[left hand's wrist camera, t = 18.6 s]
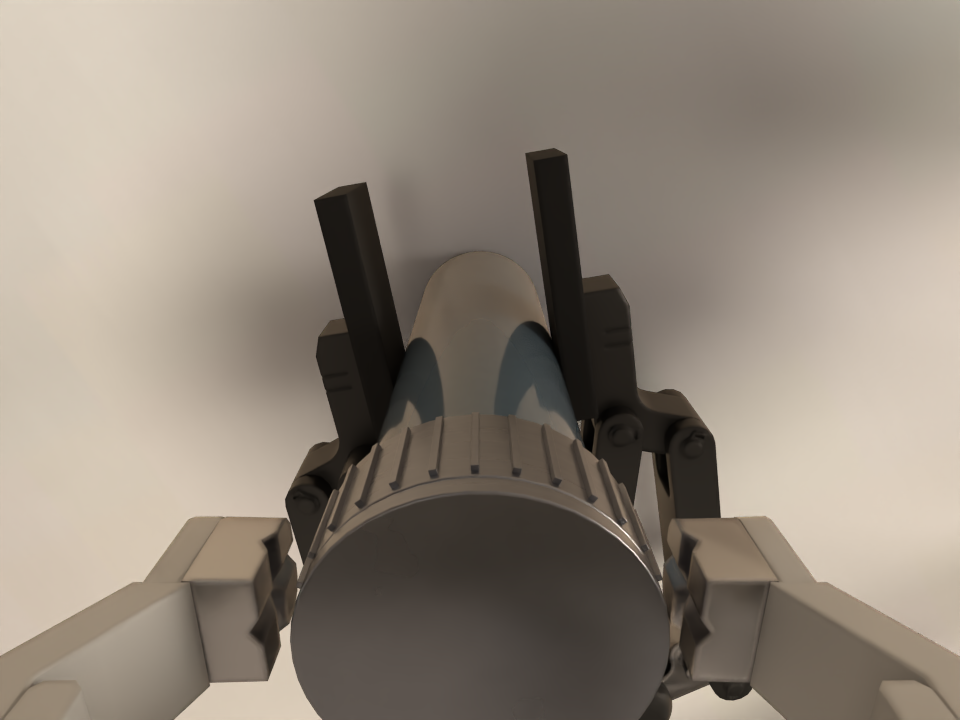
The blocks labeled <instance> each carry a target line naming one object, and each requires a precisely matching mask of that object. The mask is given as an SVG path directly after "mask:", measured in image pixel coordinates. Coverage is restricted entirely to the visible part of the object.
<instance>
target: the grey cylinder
mask: <svg viewBox="0 0 960 720" xmlns="http://www.w3.org/2000/svg"><path fill="white" fill-rule="evenodd" d="M472 412H479V414H481V415H500V416H509V414H510V415H516V418H519V419H523V420H527V421H531V422H535V423H538V424H540V425H543V424H544V423H545V424H548V425H550V426H551V429H553V430H556V431H558V432H559V433H561V434H563V435H565V436H567V437H569V438H570V439H572V440H575V438H576V439H578V440H580V441H581V443H582V446H583V447H584V448H585V446H584V442H583V439H582V436H581V433H580V430H579V426H578V423H577V420H576V417H575V414H574V410H573V407H572V404H571V401H570V397H569V394H568V391H567V388H566V385H565V381H564V378H563V375H562V372H561V369H560V365H559V362H558V359H557V356H556V353H555V349H554V346H553V343H552V340H551V337H550V333H549V330H548V327H547V324H546V321H545V317H544V314H543V311H542V308H541V305H540V301H539V298H538V295H537V292H536V289H535V286H534V284H533V282H532V280H531V279H530V277H529V276H528V274H527V273H526V272H525V271H524V269H522V268H521V267H520V266H519V265H518V264H517V263H515V262H514V261H513V260H511V259H509V258H507V257H505V256H503V255H500V254H497V253H493V252H486V251H474V252H468V253H464V254H461V255H458V256H456V257H453V258H451V259H450V260H448V261H447V262H445V263H444V264H443V265H441V266H440V267H439V268H438V269H437V270H436V271H435V272H434V274H433V275H432V277H431V278H430V280H429V282H428V284H427V285H426V288H425V291H424V294H423V297H422V300H421V304H420V307H419V310H418V313H417V316H416V319H415V323H414V326H413V329H412V332H411V335H410V339H409V342H408V345H407V348H406V351H405V355H404V358H403V361H402V364H401V367H400V371H399V374H398V377H397V380H396V383H395V387H394V390H393V393H392V396H391V399H390V403H389V406H388V409H387V412H386V415H385V419H384V422H383V425H382V428H381V431H380V435H379V438H378V441H377V443H378V444H379V445H381V444H382V443H384V442H385V441H387V440H388V439H390V438H392V437H394V436H396V435H397V434H399V433H401V431H402V429H403V428H405V427H409V429H410V428H412V427H415V426H418V425H421V424H423V423H426V422H429V421H433V420H436V417H440V416H443V418H446V417H452V416H461V415H470V414H472Z"/></svg>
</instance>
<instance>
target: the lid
mask: <svg viewBox="0 0 960 720" xmlns="http://www.w3.org/2000/svg"><path fill="white" fill-rule="evenodd" d="M660 580H662V576H661V573H660V570H659V568H658V565H657V563H656V560H655V557H654V555H653V552H652V550H651V547H650V545H649V542H648V540H647V537H646V534H645V532H644V529H643V527H642V524H641V522H640V519H639V517H638V514H637V511H636V510H634V508H633V505H632V503H631V500H630V498H629V495H628V493H627V490H626V487H625V486H624V484H623V483H620V484H618V483H617V481H616V480H615V479H614V477H613V476H612V475H611V474H610V471H609V468H608V465H607V463H606V461H605V460H604V459H601V460H598V459H597V458H596V457H595V456H594V455H593V454H592V453H591V452H589V451H588V450H586V449H585V448H584V447H583V446H582V443H581V441H580V440H578V439H576V438H575V440H572V439H570V438H569V437H567V436H565V435H563V434H561V433H559V432H558V431H556V430H553V429H551V426H550V425H548V424H545V423H544V424H543V425H540V424H538V423H535V422H531V421H527V420H523V419H519V418H516V415H510V414H509V416H500V415H481V414H479V412H472V414H470V415H461V416H452V417H446V418H443V416H440V417H436V420H433V421H429V422H426V423H423V424H421V425H418V426H415V427H412V428H410V429H409V427H405V428H403V429H402V431H401V433H399V434H397V435H396V436H394V437H392V438H390V439H388V440H387V441H385V442H384V443H382V444H381V445H379V444H378V443H376V444H375V445H374V446H372V449H371V452H370V453H369V454H368V455H367V456H366V457H365V458H364V459H363V460H361V461H360V462H359V463H358V464H357V466H355V465H353V464H352V465H351V466H350V467H349V469H348V472H347V474H346V477H345V480H344V482H343V484H342V486H341V488H340V489H339V491H338V490H335V489H334V490H333V492H332V494H331V496H330V499H329V501H328V504H327V506H326V509H325V512H324V514H323V517H322V519H321V522H320V524H319V527H318V530H317V532H316V535H315V537H314V540H313V542H312V545H311V547H310V550H309V553H308V555H307V558H306V561H305V563H304V566H303V568H302V571H301V573H300V576H299V578H298V581H297V585H296V588H300V592H299V594H298V597H297V600H296V602H295V607H294V611H293V616H292V620H291V636H290V643H291V651H292V659H293V664H294V667H295V671H296V674H297V678H298V681H299V683H300V685H301V687H302V689H303V691H304V693H305V696H306V698H307V699H308V701H309V702H310V704H311V705H312V707H313V708H314V710H315V711H316V713H317V714H318V715H319V716H320V717H321V719H322V720H638V719H639V718H640V717H641V716H642V715H643V713H644V712H645V710H646V709H647V708H648V706H649V705H650V703H651V702H652V700H653V698H654V696H655V694H656V692H657V690H658V688H659V686H660V684H661V682H662V679H663V676H664V673H665V670H666V666H667V661H668V655H669V648H670V624H669V619H668V614H667V604H666V601H665V599H664V596H663V593H662V591H661V588H660V585H659V583H658V581H660Z"/></svg>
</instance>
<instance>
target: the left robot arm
mask: <svg viewBox="0 0 960 720" xmlns="http://www.w3.org/2000/svg"><path fill="white" fill-rule="evenodd" d="M292 542H293V536H292V530H291V524H290V522H289V521H288V519H287V518H266V517H193V518H191V519H189V520H188V521H187V522H186V523H185V525H184V526H183V528H182V529H181V530H180V532H179V533H178V534H177V536H176V537H175V539H174V540H173V541H172V543H171V544H170V545H169V547H168V548H167V550H166V551H165V552H164V554H163V555H162V557H161V558H160V559H159V561H158V562H157V563H156V565H155V566H154V568H153V569H152V570H151V572H150V573H149V574H148V576H147V577H146V579H145V580H144V581H143V582H133V583H131V584H129V585H127V586H125V587H124V588H122V589H120V590H118V591H116V592H115V593H113V594H111V595H109V596H107V597H106V598H104V599H102V600H100V601H98V602H97V603H95V604H93V605H91V606H89V607H88V608H86V609H84V610H82V611H80V612H79V613H77V614H75V615H73V616H71V617H70V618H68V619H66V620H64V621H62V622H61V623H59V624H57V625H55V626H53V627H52V628H50V629H48V630H46V631H44V632H43V633H41V634H39V635H37V636H35V637H34V638H32V639H30V640H28V641H26V642H25V643H23V644H21V645H19V646H17V647H16V648H14V649H12V650H10V651H8V652H7V653H5V654H3V655H1V656H0V720H174V719H175V718H176V717H177V716H178V715H179V714H180V713H181V712H182V711H183V710H185V709H186V708H187V707H188V706H189V705H190V704H191V703H192V702H193V701H194V700H195V699H196V698H197V697H199V696H200V695H201V694H202V693H203V692H204V691H205V690H206V689H207V688H208V687H209V686H210V683H216V682H251V681H268V679H269V676H270V674H271V671H272V668H273V666H274V663H275V660H276V658H277V655H278V653H279V650H280V647H281V642H280V634H279V631H281V630H282V629H283V628H284V627H286V626H287V625H288V624H289V623H290V620H291V617H292V615H293V611H294V607H295V602H296V596H297V588H296V585H297V567H296V563H295V562H294V561H293V560H292V559H291V558H290V556H289V555H288V551H289V549H290V547H291V544H292ZM667 542H668V544H669V547H670V549H671V552H672V555H671V556H670V557H669V558H668V560H667V561H666V562H665V563H664V567H663V578H662V585H663V596H664V599H665V601H666V604H667V614H668V618H669V621H670V623H671V624H672V625H673V626H674V627H676V628H677V629H678V630H679V631H681V634H680V641H679V648H680V650H681V653H682V655H683V658H684V661H685V663H686V666H687V668H688V671H689V674H690V676H691V679H692V681H708V682H743V683H750V686H751V687H752V688H753V689H754V690H755V691H756V692H757V693H759V694H760V695H761V696H762V697H763V698H764V699H765V700H766V701H767V702H768V703H769V704H770V705H771V706H772V707H774V708H775V709H776V710H777V711H778V712H779V713H780V714H781V715H782V716H783V717H784V718H785V719H786V720H960V656H958V655H956V654H955V653H953V652H951V651H949V650H947V649H946V648H944V647H942V646H940V645H938V644H937V643H935V642H933V641H931V640H930V639H928V638H926V637H924V636H922V635H921V634H919V633H917V632H915V631H913V630H912V629H910V628H908V627H906V626H904V625H903V624H901V623H899V622H897V621H895V620H894V619H892V618H890V617H888V616H886V615H885V614H883V613H881V612H879V611H877V610H876V609H874V608H872V607H870V606H868V605H867V604H865V603H863V602H861V601H860V600H858V599H856V598H854V597H852V596H851V595H849V594H847V593H845V592H843V591H842V590H840V589H838V588H836V587H834V586H833V585H831V584H829V583H827V582H817V581H816V580H815V579H814V577H813V576H812V575H811V573H810V572H809V571H808V569H807V568H806V566H805V565H804V564H803V562H802V561H801V560H800V558H799V557H798V555H797V554H796V553H795V551H794V550H793V549H792V547H791V546H790V545H789V543H788V542H787V540H786V539H785V538H784V536H783V535H782V534H781V532H780V531H779V529H778V528H777V527H776V525H775V524H774V523H773V521H772V520H771V519H769V518H768V517H766V516H753V517H734V518H688V519H671V522H670V525H669V528H668V535H667Z"/></svg>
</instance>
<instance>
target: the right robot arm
mask: <svg viewBox="0 0 960 720" xmlns="http://www.w3.org/2000/svg"><path fill="white" fill-rule="evenodd" d="M525 154H526V161H527V169H528V176H529V183H530V190H531V197H532V204H533V211H534V218H535V225H536V233H537V240H538V247H539V254H540V261H541V268H542V275H543V282H544V289H545V297H546V304H547V311H548V318H549V325H550V332H551V339H552V343H553V346H554V349H555V353H556V356H557V359H558V362H559V365H560V369H561V372H562V375H563V378H564V381H565V385H566V388H567V391H568V394H569V397H570V401H571V404H572V407H573V410H574V414H575V417H576V420H577V421H580V420H582V422H581V431H580V433H581V436H582V439H583V442H584V446H585V449H586V450H588V451H589V452H591V453H592V454H593V455H594V456H595V457H596V458H597V459H598V460H601V459H604V460H605V461H606V463H607V465H608V468H609V471H610V474H611V475H612V476H613V477H614V479H615V480H616V481H617V483H618V484H620V483H623V484H624V486H625V487H626V490H627V493H628V495H629V498H630V500H631V503H632V505H633V506H634V499H635V493H636V486H637V480H638V473H639V467H640V460H641V454H642V451H646V452H652V458H653V467H654V475H655V484H656V493H657V502H658V510H659V519H660V528H661V536H662V545H663V554H664V563H665V562H666V561H667V560H668V558H669V557H670V556H671V555H672V552H671V549H670V547H669V544H668V542H667V535H668V528H669V525H670V522H671V519H688V518H721V514H720V501H719V487H718V474H717V460H716V447H715V441H714V437H713V435H712V434H711V432H710V431H709V429H708V428H707V427H706V425H705V424H704V422H703V421H702V420H701V418H700V417H699V415H698V414H697V413H696V411H695V410H694V408H693V407H692V406H691V404H690V403H689V402H688V400H687V399H686V397H685V396H684V395H683V394H682V393H681V392H679V391H676V390H674V389H665V390H662V391H659V392H657V393H656V392H650V391H645V390H641V389H639V388H637V383H636V372H635V361H634V351H633V343H632V341H633V340H632V329H631V318H630V307H629V304H628V302H627V300H626V299H625V297H624V295H623V293H622V291H621V290H620V288H619V286H618V285H617V284H616V283H615V281H614V280H613V279H612V278H611V276H610V275H609V274H607V275H601V276H595V277H589V278H583V279H582V275H581V267H580V258H579V250H578V241H577V233H576V224H575V216H574V207H573V199H572V191H571V182H570V174H569V165H568V157H567V154H565V153H563V152H561V151H559V150H557V149H555V148H552V149H546V150H541V151H535V152H530V153H525ZM314 203H315V207H316V211H317V215H318V218H319V222H320V226H321V230H322V234H323V238H324V241H325V245H326V249H327V253H328V257H329V261H330V265H331V268H332V272H333V276H334V280H335V284H336V288H337V291H338V295H339V299H340V303H341V307H342V311H343V314H344V318H343V319H337V320H331V321H330V322H329V323H328V325H327V326H326V327H325V329H324V330H323V332H322V333H321V334H320V336H319V337H318V345H317V353H316V358H317V362H318V366H319V369H320V373H321V375H322V380H323V383H324V387H325V390H326V394H327V397H328V401H329V404H330V408H331V411H332V415H333V418H334V422H335V425H336V429H337V433H338V436H339V438H337V439H336V440H334V441H332V442H330V443H329V442H321V443H318V444H315V445H314V446H313V447H312V448H311V449H310V450H309V452H308V454H307V456H306V458H305V459H304V461H303V463H302V465H301V467H300V469H299V471H298V473H297V475H296V477H295V479H294V481H293V483H292V485H291V488H290V490H289V492H288V494H287V496H286V498H285V503H286V509H287V512H288V516H289V519H290V522H291V525H292V529H293V532H294V535H295V539H296V542H297V545H298V549H299V552H300V555H301V559H302V562H303V565H304V563H305V561H306V558H307V555H308V553H309V550H310V547H311V545H312V542H313V540H314V537H315V535H316V532H317V530H318V527H319V524H320V522H321V519H322V517H323V514H324V512H325V509H326V506H327V504H328V501H329V499H330V496H331V494H332V492H333V490H334V489H335V490H338V491H339V489H340V488H341V486H342V484H343V482H344V480H345V477H346V474H347V472H348V469H349V467H350V466H351V465H352V464H353V465H355V466H357V464H358V463H359V462H360V461H361V460H363V459H364V458H365V457H366V456H367V455H368V454H369V453H370V452H371V449H372V446H374V445H375V444H376V443H377V441H378V438H379V435H380V431H381V428H382V425H383V422H384V419H385V415H386V412H387V409H388V406H389V403H390V399H391V396H392V393H393V390H394V387H395V383H396V380H397V377H398V374H399V371H400V367H401V364H402V361H403V358H404V355H405V349H404V345H403V340H402V336H401V332H400V327H399V323H398V319H397V314H396V310H395V306H394V301H393V297H392V293H391V288H390V284H389V279H388V275H387V271H386V266H385V262H384V258H383V253H382V249H381V245H380V240H379V236H378V232H377V227H376V223H375V218H374V214H373V210H372V205H371V201H370V197H369V192H368V188H367V184H366V182H364V183H358V184H353V185H347V186H342V187H338V188H336V189H334V190H332V191H330V192H328V193H326V194H325V195H323V196H321V197H319V198H317V199H315V200H314ZM668 619H669V618H668ZM669 624H670V648H669V655H668V661H667V666H666V670H665V673H664V676H663V679H662V682H661V684H660V686H659V688H658V690H657V692H656V694H655V696H654V698H653V700H652V702H651V703H650V705H649V706H648V708H647V709H646V710H645V712H644V713H643V715H642V716H641V717H640V718H639V719H638V720H669V718H670V716H671V712H672V700H674V699H676V698H678V697H681V696H683V695H686V694H688V693H690V692H693V691H695V690H697V689H700V688H702V687H705V686H707V685H709V684H710V686H711V687H712V689H713V690H714V692H715V694H716V695H718V696H719V697H720V698H722V699H725V700H737V699H741V698H743V697H744V696H746V695H748V693H749V692H750V691H751V690H752V687H751V686H750V683H743V682H708V681H692V679H691V676H690V674H689V671H688V668H687V666H686V663H685V661H684V658H683V655H682V653H681V650H680V648H679V641H680V634H681V631H679V630H678V629H677V628H676V627H674V626H673V625H672V624H671V623H670V621H669Z"/></svg>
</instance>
